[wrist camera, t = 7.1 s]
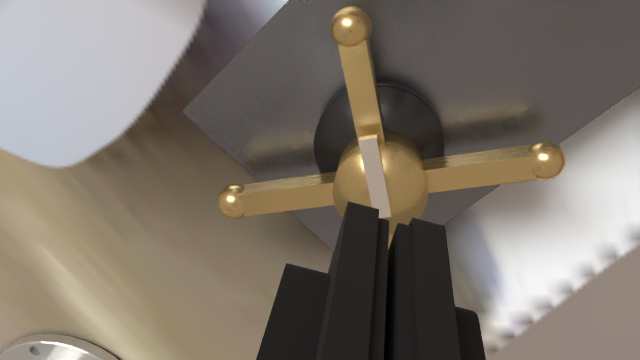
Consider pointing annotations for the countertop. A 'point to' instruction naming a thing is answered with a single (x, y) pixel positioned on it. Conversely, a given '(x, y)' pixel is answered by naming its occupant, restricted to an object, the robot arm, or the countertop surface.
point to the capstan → (384, 148)
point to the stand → (425, 81)
